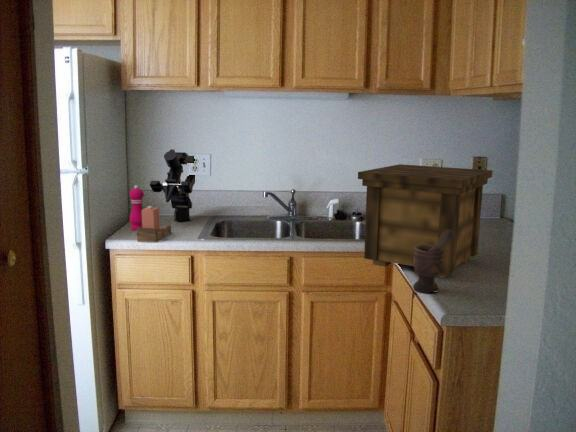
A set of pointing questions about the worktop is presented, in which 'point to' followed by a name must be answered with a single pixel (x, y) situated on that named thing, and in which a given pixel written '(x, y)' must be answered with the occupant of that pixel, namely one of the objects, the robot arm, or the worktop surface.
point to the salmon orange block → (150, 218)
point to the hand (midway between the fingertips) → (167, 201)
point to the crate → (422, 212)
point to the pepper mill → (136, 208)
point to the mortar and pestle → (429, 263)
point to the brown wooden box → (152, 234)
